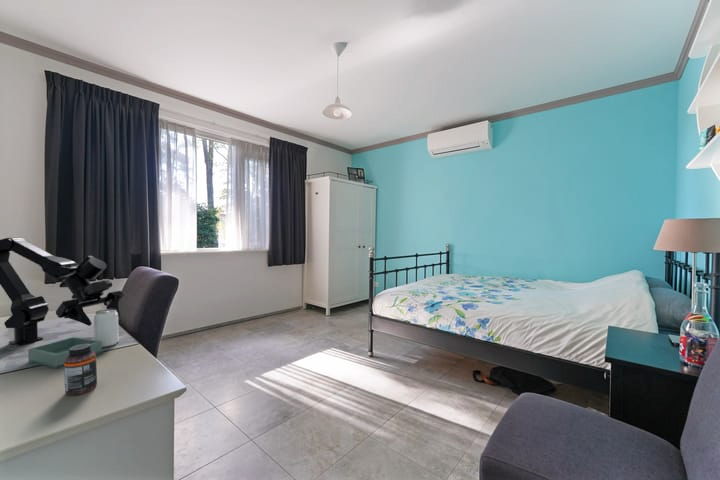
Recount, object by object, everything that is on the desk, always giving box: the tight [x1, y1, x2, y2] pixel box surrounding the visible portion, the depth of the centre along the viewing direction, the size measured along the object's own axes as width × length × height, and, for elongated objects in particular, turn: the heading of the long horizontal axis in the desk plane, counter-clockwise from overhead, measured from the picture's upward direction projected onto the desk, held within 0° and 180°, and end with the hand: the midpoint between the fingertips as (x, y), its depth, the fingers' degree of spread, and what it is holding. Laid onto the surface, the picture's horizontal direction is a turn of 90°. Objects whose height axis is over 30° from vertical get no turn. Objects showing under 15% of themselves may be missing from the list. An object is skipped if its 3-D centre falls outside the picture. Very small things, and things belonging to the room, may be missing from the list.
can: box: [93, 308, 120, 348], centre depth 105 cm, size 6×6×12 cm
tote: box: [27, 335, 103, 370], centre depth 95 cm, size 14×12×4 cm
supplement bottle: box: [63, 344, 98, 396], centre depth 76 cm, size 6×6×11 cm
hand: (105, 320), depth 105 cm, fingers open, 9 cm apart
